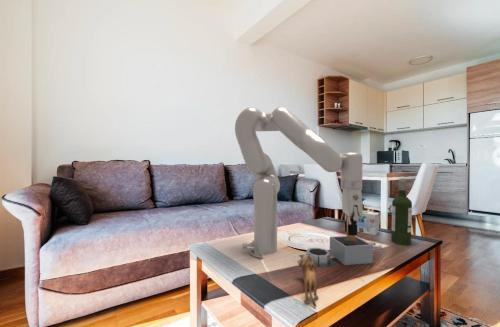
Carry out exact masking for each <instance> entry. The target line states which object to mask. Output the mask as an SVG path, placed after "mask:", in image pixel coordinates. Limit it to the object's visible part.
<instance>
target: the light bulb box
mask: <svg viewBox="0 0 500 327" xmlns="http://www.w3.org/2000/svg"><path fill="white" fill-rule="evenodd" d="M358 218H359V220H358V221H357V223H358V224H357V233H362V234H366V235H372V236H377V235H378V234H379V227H380V226H379V225H380V212H376V211H370V210H363V216H362V217H359V216H358Z"/></svg>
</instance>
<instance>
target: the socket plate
mask: <svg viewBox="0 0 500 327" xmlns="http://www.w3.org/2000/svg"><path fill="white" fill-rule="evenodd" d="M303 255H304V254H299V255H298V256H299V257H300V259H302V258H303ZM305 255H308V256H309V257H311V259H312V261H313V262H314V265H315V267H316V268H323V267H324V268H325V267H336V266H337V267H338V266H339V267H340V264H338V263H337V262H336V261H335V260H334V259H333V258H331V254H330V250H328V249H325V248H321V247H310V248H308V249H306V251H305Z"/></svg>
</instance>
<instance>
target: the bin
mask: <svg viewBox="0 0 500 327" xmlns="http://www.w3.org/2000/svg"><path fill="white" fill-rule="evenodd" d="M344 238H347V235H342V236H341V235H340V236H330V237H329V252H330V256H331V255H332V256H333V258H335V259H337V260H338V261H339V262H340V263H342V264H343V265H344V266H351V265H352V266H353V265H364V264H373V263H374V262H373V260H374V258H373V257H374V249H373V245H372V244H370V243H368V242H369V241H366V240H365V239H363V238H361V237H359V236H358V235H355V239H357V240H358V245H353V246H345V245H344Z"/></svg>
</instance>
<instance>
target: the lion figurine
mask: <svg viewBox="0 0 500 327" xmlns="http://www.w3.org/2000/svg"><path fill="white" fill-rule="evenodd" d="M302 255H303V258H300V259H299V260H297V261H296V263H297V265H298V267H299V268H301V270H302V273H303V284H304V285H303V286H304V299H305V300H304V304H305V305H306V304H308V305H309V302H310V301H311V303H312V305H313V307H317V304H316V302H315V300H319V299H320V298H319V296H318V295H317V294H318V293H317V289H318V285H317V283H318V282H317V276H316V274H317V267H315V265H314V262H313V261H312V259H311V257H309V256H308V255H306V254H302ZM312 290H313V294H312ZM309 298H310V301H309ZM314 299H315V300H314Z"/></svg>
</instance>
